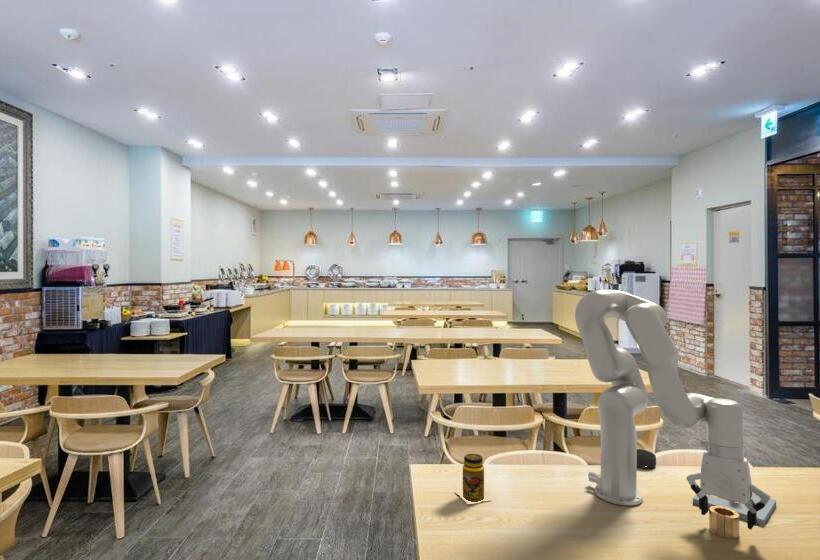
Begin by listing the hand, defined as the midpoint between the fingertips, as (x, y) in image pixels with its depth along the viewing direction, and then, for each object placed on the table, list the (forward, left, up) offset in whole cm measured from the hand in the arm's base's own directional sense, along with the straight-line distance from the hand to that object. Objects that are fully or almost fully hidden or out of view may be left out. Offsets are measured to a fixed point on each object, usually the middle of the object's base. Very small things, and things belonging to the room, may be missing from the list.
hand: (727, 520), depth 114 cm
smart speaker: (-32, +30, -4) cm, 44 cm away
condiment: (-55, -32, -4) cm, 63 cm away
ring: (-1, 0, -3) cm, 3 cm away
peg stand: (-3, +19, -3) cm, 19 cm away
